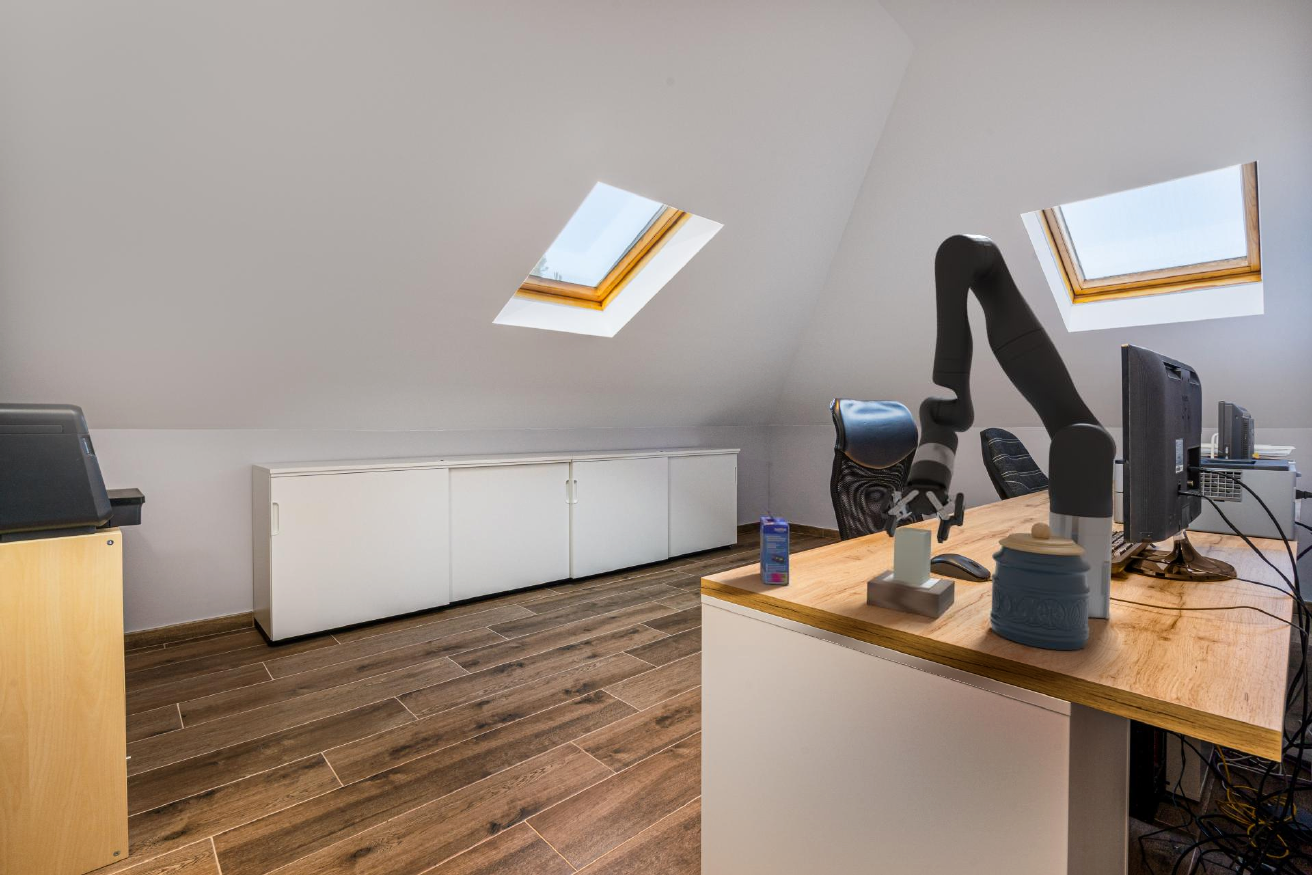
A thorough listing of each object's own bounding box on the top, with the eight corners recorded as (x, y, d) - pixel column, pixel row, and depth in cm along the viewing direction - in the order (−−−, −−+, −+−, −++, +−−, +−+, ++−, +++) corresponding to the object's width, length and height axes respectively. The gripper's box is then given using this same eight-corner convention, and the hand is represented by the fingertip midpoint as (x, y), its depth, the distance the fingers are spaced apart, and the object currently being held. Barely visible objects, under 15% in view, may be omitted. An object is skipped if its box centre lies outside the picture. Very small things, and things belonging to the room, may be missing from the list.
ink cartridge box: (758, 572, 130) (759, 505, 130) (784, 573, 130) (785, 506, 130) (761, 584, 121) (763, 512, 120) (789, 585, 120) (791, 513, 120)
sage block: (929, 579, 110) (931, 530, 110) (922, 584, 106) (924, 533, 106) (901, 574, 113) (902, 527, 113) (893, 579, 109) (894, 530, 109)
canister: (980, 636, 93) (984, 522, 92) (998, 617, 102) (1002, 513, 102) (1084, 659, 84) (1089, 533, 84) (1092, 635, 94) (1097, 523, 94)
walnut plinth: (954, 602, 111) (954, 579, 110) (938, 618, 101) (939, 592, 101) (887, 590, 118) (887, 568, 118) (866, 603, 108) (867, 580, 108)
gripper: (890, 457, 120) (870, 520, 112) (969, 460, 112) (954, 529, 103) (897, 481, 125) (878, 545, 116) (974, 486, 116) (960, 555, 107)
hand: (914, 537), depth 109 cm, fingers open, 8 cm apart
